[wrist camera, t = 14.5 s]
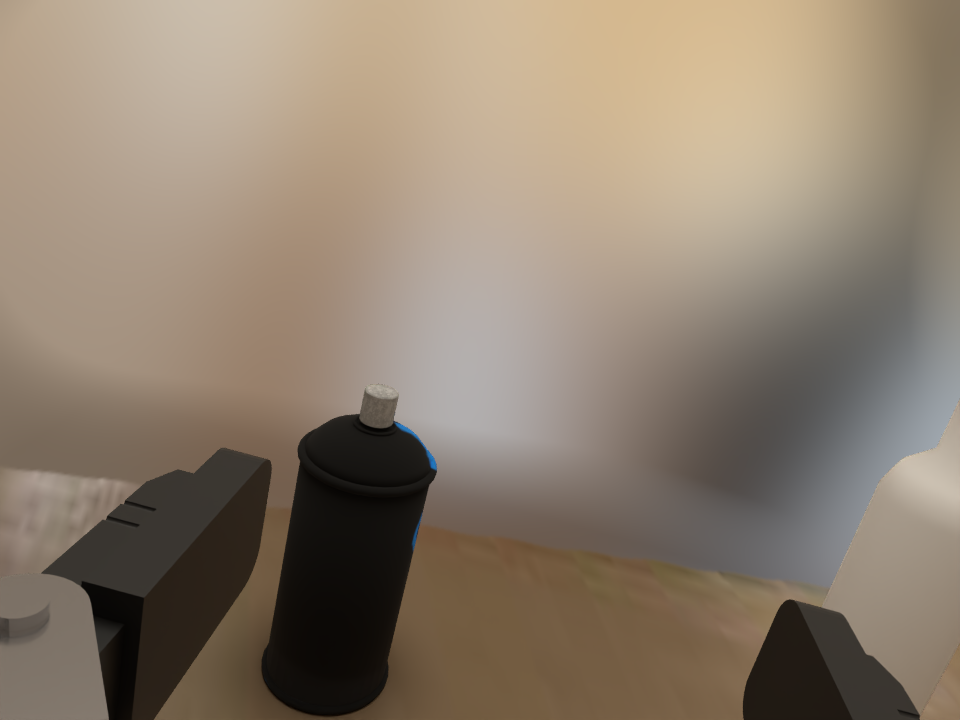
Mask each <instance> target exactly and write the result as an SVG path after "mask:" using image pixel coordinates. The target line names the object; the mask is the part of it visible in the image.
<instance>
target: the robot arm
mask: <svg viewBox="0 0 960 720" xmlns="http://www.w3.org/2000/svg"><path fill="white" fill-rule="evenodd" d="M271 470H272V467H271V462H270V460H268V459H264V458H260V457H257V456H253V455H249V454H245V453H242V452H238V451H234V450H230V449H227V448H221V449H219V450H218V451H217V452H216V453H215V454H214V455H213V456H212V457H211V458H209V459H208V460H207V461H206V462H205V463H204V464H203V465H202V466H201V467H200V468H199V469H198V470H197V471H196V472H195V473H194V474H193V473H189V472H186V471H182V470H175V471H173V472H171V473H168V474H165V475H163V476H160V477H158V478H155V479H153V480H150V481H147V482H146V483H145V484H143V485H142V486H141V487H140V488H139V489H138V490H136V491H135V492H134V493H133V494H132V495H131V496H130V497H128V498H127V499H126V500H125V503H124V505H123V504H120V505H119V506H118V507H117V508H116V509H115V510H113V511H112V512H111V513H110V514H109V515H108V516H107V519H106V520H102V521H101V522H100V523H98V524H97V525H96V526H95V527H94V528H93V529H91V530H90V531H89V532H88V533H87V534H86V535H85V536H83V537H82V538H81V539H80V540H79V541H78V542H77V543H75V544H74V545H73V546H72V547H71V548H70V549H68V550H67V551H66V552H65V553H64V554H63V555H62V556H60V557H59V558H58V559H57V560H56V561H55V562H53V563H52V564H51V565H50V566H49V567H48V568H47V569H45V570H44V571H43V572H42V573H41V574H38V573H28V574H16V575H10V576H5V577H1V578H0V720H154V718H155V717H156V715H157V714H158V712H159V711H160V710H161V708H162V707H163V705H164V704H165V702H166V701H167V699H168V698H169V696H170V695H171V693H172V692H173V691H174V689H175V688H176V686H177V685H178V683H179V682H180V680H181V679H182V677H183V676H184V674H185V673H186V672H187V670H188V669H189V667H190V666H191V664H192V663H193V661H194V660H195V658H196V657H197V656H198V654H199V653H200V651H201V650H202V648H203V647H204V645H205V644H206V642H207V641H208V639H209V638H210V637H211V635H212V634H213V632H214V631H215V629H216V628H217V626H218V625H219V623H220V622H221V620H222V619H223V618H224V616H225V615H226V613H227V612H228V610H229V609H230V607H231V606H232V604H233V603H234V602H235V600H236V599H237V597H238V596H239V594H240V593H241V591H242V590H243V588H244V587H245V585H246V583H247V582H248V580H249V577H250V575H251V573H252V571H253V568H254V565H255V562H256V559H257V556H258V552H259V548H260V542H261V536H262V529H263V523H264V517H265V511H266V504H267V498H268V492H269V485H270V479H271ZM919 717H920V714H919V713H918V711H917V709H916V708H915V706H914V704H913V703H912V701H911V699H910V698H909V696H908V694H907V693H906V691H905V689H904V688H903V686H902V685H901V684H900V683H899V682H898V681H897V680H896V679H895V678H894V677H893V676H892V675H891V674H890V673H889V672H888V671H887V670H886V669H885V668H884V667H883V666H882V665H881V664H880V663H879V662H878V661H877V660H876V659H875V658H874V657H873V656H871V655H867V654H866V653H865V651H864V650H863V648H862V646H861V644H860V643H859V641H858V639H857V637H856V635H855V634H854V632H853V630H852V628H851V626H850V625H849V623H848V621H847V619H846V618H845V616H844V615H843V614H841V613H839V612H836V611H833V610H829V609H825V608H821V607H818V606H814V605H810V604H806V603H803V602H799V601H795V600H786V601H785V602H784V603H783V604H782V605H781V606H780V608H779V610H778V612H777V614H776V616H775V618H774V620H773V623H772V625H771V627H770V630H769V632H768V634H767V636H766V639H765V641H764V643H763V645H762V648H761V650H760V652H759V655H758V657H757V659H756V661H755V664H754V666H753V668H752V671H751V673H750V675H749V678H748V680H747V683H746V687H745V691H744V698H743V718H744V720H920V719H919Z"/></svg>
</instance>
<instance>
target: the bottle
mask: <svg viewBox="0 0 960 720" xmlns="http://www.w3.org/2000/svg"><path fill="white" fill-rule="evenodd" d="M821 608H825V609H829V610H833V611H836V612H839V613H841V614H843V615H844V616H845V618H846V619H847V621H848V623H849V625H850V626H851V628H852V630H853V632H854V634H855V635H856V637H857V639H858V641H859V643H860V644H861V646H862V648H863V650H864V651H865V653H866V654H867V655H871V656H873V657H874V658H875V659H876V660H877V661H878V662H879V663H880V664H881V665H882V666H883V667H884V668H885V669H886V670H887V671H888V672H889V673H890V674H891V675H892V676H893V677H894V678H895V679H896V680H897V681H898V682H899V683H900V684H901V685H902V686H903V688H904V689H905V691H906V693H907V694H908V696H909V698H910V699H911V701H912V703H913V704H914V706H915V708H916V709H917V711H918V713H919V714H920V716H921V714H922V712H923V710H924V708H925V707H926V705H927V703H928V701H929V699H930V697H931V695H932V694H933V692H934V690H935V688H936V686H937V684H938V683H939V681H940V679H941V677H942V675H943V673H944V671H945V670H946V668H947V666H948V664H949V662H950V660H951V659H952V657H953V655H954V653H955V651H956V649H957V647H958V646H959V644H960V400H959V402H958V404H957V406H956V408H955V410H954V413H953V415H952V417H951V419H950V421H949V423H948V425H947V427H946V429H945V431H944V433H943V435H942V438H941V440H940V442H939V444H938V446H937V448H934V449H931V450H927V451H924V452H921V453H918V454H914V455H911V456H908V457H905V458H903V459H902V460H901V461H900V462H898V463H897V464H896V465H895V466H894V467H893V468H892V469H891V470H890V471H889V472H888V473H887V474H886V475H885V476H884V477H883V478H882V479H881V480H880V481H879V483H878V486H877V488H876V490H875V492H874V494H873V496H872V499H871V501H870V503H869V505H868V507H867V509H866V512H865V514H864V516H863V518H862V520H861V523H860V525H859V527H858V529H857V531H856V533H855V536H854V538H853V540H852V542H851V544H850V546H849V549H848V551H847V553H846V555H845V558H844V560H843V562H842V564H841V566H840V568H839V571H838V573H837V575H836V577H835V579H834V581H833V584H832V586H831V588H830V590H829V592H828V594H827V597H826V599H825V601H824V603H823V605H822V607H821ZM919 718H920V717H919Z"/></svg>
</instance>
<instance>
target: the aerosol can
mask: <svg viewBox="0 0 960 720" xmlns="http://www.w3.org/2000/svg"><path fill="white" fill-rule="evenodd" d="M398 396H399V394H398V392H397V391H396V390H395V389H393V388H392V387H389V386H386V385H380V384H372V385H369V386H367V387H366V388H365V392H364V397H363V402H362V407H361V412H360V414H355V415H345V416H340V417H337V418H334V419H332V420H330V421H328V422H326V423H325V424H323V425H321V426H320V427H318V428H317V429H314V430H312V431H311V432H309V433H308V434H306V435H305V436H304V437H303V438H302V439H301V441H300V443H299V446H298V457H299V459H300V466H299V471H298V477H297V483H296V489H295V494H294V500H293V506H292V512H291V518H290V524H289V529H288V535H287V541H286V547H285V553H284V559H283V564H282V570H281V576H280V582H279V588H278V594H277V599H276V605H275V611H274V617H273V623H272V629H271V634H270V640H269V644H268V645H267V647H266V649H265V650H264V654H263V657H262V672H263V676H264V679H265V681H266V683H267V685H268V687H269V688H270V690H271V691H272V692H273V693H274V694H275V695H276V696H277V697H278V698H279V699H281V700H282V701H284V702H285V703H286V704H288V705H290V706H292V707H294V708H297V709H299V710H302V711H306V712H309V713H315V714H323V715H330V714H342V713H347V712H351V711H354V710H356V709H359V708H362V707H363V706H365V705H367V704H368V703H370V702H371V701H372V700H373V699H374V698H376V697H377V696H378V695H379V693H380V692H381V690H382V689H383V687H384V686H385V683H386V680H387V678H388V662H387V660H388V656H389V652H390V648H391V643H392V639H393V635H394V631H395V627H396V622H397V618H398V614H399V610H400V605H401V601H402V597H403V593H404V589H405V584H406V580H407V576H408V572H409V568H410V563H411V559H412V555H413V551H414V546H415V542H416V538H417V534H418V530H419V525H420V521H421V517H422V513H423V508H424V504H425V500H426V496H427V491H428V487H429V484H430V483H431V482H432V481H433V480H434V478H435V475H436V473H437V466H436V462H435V460H434V458H433V456H432V455H431V454H430V452H429V451H428V450H427V449H426V447H425V446H424V444H423V443H422V442H421V440H420V439H419V438H418V436H417V435H416V434H415V433H414V432H412V431H411V430H410V429H408V428H407V427H405V426H403V425H401V424H400V423H398V422H395V421H393V420H394V415H395V410H396V405H397V401H398Z"/></svg>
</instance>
